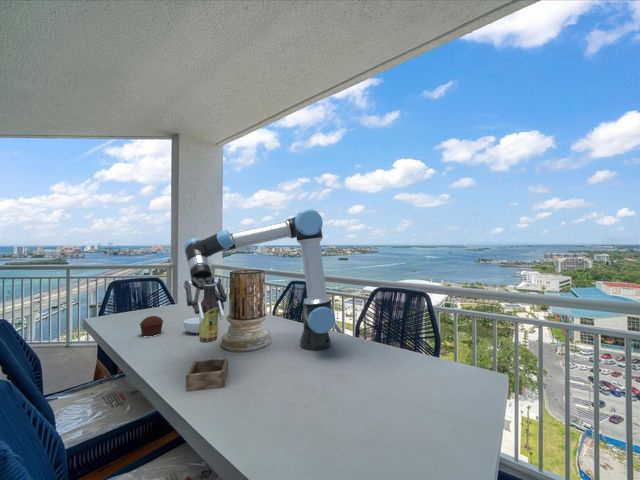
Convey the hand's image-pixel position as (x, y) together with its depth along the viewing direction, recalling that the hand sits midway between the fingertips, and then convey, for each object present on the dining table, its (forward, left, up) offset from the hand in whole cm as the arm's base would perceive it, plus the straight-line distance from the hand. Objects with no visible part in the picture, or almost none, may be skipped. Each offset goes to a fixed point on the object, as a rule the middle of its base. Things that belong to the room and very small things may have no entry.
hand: (212, 318), depth 99 cm
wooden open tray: (+2, -3, -22) cm, 23 cm away
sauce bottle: (+2, -3, -9) cm, 9 cm away
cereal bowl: (+17, -69, -23) cm, 75 cm away
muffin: (+42, -70, -23) cm, 85 cm away
